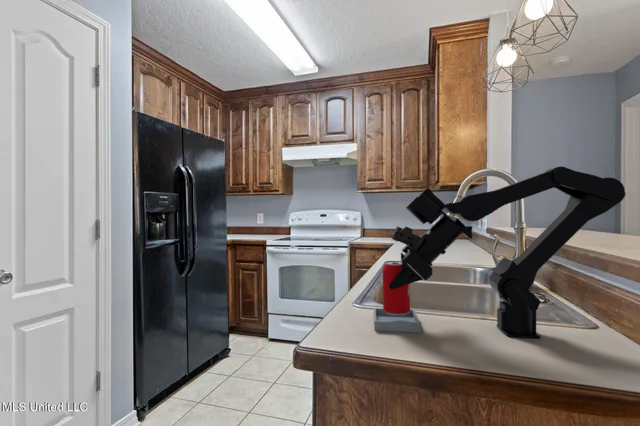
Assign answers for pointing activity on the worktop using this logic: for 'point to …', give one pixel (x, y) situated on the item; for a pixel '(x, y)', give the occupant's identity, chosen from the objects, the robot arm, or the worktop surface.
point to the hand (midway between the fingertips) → (390, 284)
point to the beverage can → (394, 291)
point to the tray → (396, 322)
